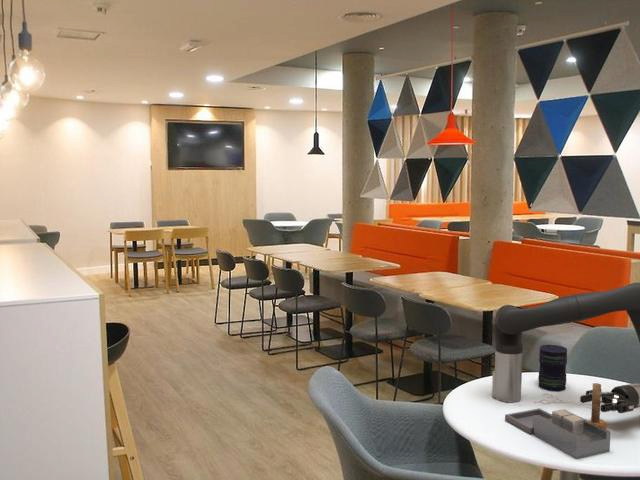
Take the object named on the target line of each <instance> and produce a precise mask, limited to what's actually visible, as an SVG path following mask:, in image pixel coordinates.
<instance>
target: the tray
mask: <svg viewBox="0 0 640 480" xmlns="http://www.w3.org/2000/svg"><path fill="white" fill-rule="evenodd" d="M534 415H538V416H540V417H542V418H544V419H550V418H552V413H549V412H548V411H545V410H543V409H542V408H533V409H528V410H524V411H518V412H512V413H508V414H505V415H504V421H505V422H507V423H508V424H510V425H512V426H513V427H515V428H517V429H519V430H520V431H521V430H522V431H523V432H525V433H526V434H527V435H532V426H533V416H534Z"/></svg>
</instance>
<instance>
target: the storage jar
mask: <svg viewBox="0 0 640 480" xmlns="http://www.w3.org/2000/svg"><path fill="white" fill-rule="evenodd" d="M538 355H539V356H538V357H539V359H538V361H539V370H538V377H537V378H538V388H540V389H541V390H544V391H546V392H547V391H548V392H558V393H559V392H564V391H566V389H567V387H566V385H567V373H566V371H567V369H566V368H567V364H568V349H567V347H565V346H563V345H562V346H561V345H557V344H543V345H540V346H539V354H538Z"/></svg>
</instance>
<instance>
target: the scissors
mask: <svg viewBox="0 0 640 480" xmlns="http://www.w3.org/2000/svg"><path fill="white" fill-rule="evenodd" d="M542 396H543V397H544V398H548V399H550V398H551V399H555V400H557V401H551V400H548V399H540V400H539V401H536V400H535V401H534V400H533V403H534V404H536V403H540V404H542V405H549V404H552V403H553V404H560V403H561V404H569V405H573V406H578V407H582V408H587V409H591V410H592V407H589V406H591V404H589V403H581V402H574V401H568V400H564V399H560V398H558V397H555V396H554V395H552V394H549V393H543V394H542Z"/></svg>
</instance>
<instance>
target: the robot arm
mask: <svg viewBox="0 0 640 480" xmlns="http://www.w3.org/2000/svg"><path fill="white" fill-rule="evenodd" d="M499 307H500V306H499ZM623 311H624V312H626V313H627V315H628V317H629V320H630V321H631V323H632V326H633V329H634V330H635V334H636V336H637V339H638V341H639V343H640V282H633V283H632V282H631V283H629V284H627V285H625V286H624V285H623V286H620V287H618V288H614V289H608V290H603V291H591V292H583V293H581V292H580V293H576V294H569V295H565V296H560V297H557V298H553V299H551V300H549V301H547V302H544V303H542V304H540V305H536V306H532V307H526V308H518V307H517V306H515V305H512V304H504V305H502V306H501V307H500V308H498V310H497V311H496V313H495V319H494V344H495V346H494V349H495V354H494V370H493V371H492V384H491V386H492V387H491V389H492V390H491V398H494V399H496V400H498V401H500V402H505V403H506V402H507V403H516V402H520V401H521V400H522V381H523V380H522V379H523V378H522V377H523V375H522V374H523V347H524V346H523V336H522V335H523V333H524V332H527V331H531V330H535V329H537V328H543V327H553V326H558V325H564V324H570V323H577V322H582V321H585V320H591V319H593V318H597V317H601V316H604V315H607V314H610V313H616V312H623ZM592 390H593V389H589V390H586V391H585V394H583V395H581V396H580V397H579V398H580V399H579V400H580V401H579V403H583V404H587V403H590V402H591V403H592ZM638 408H640V382H639V383H630V384H625V385H622V384H621V385H618V386H615V387H613V388H612V389H611V390H610V391H605V392H603V391H602V389H601V401H600V412H601V413H605V412H610V411H611V412H616V411H617V413H618V414H623V413H624V414H626V413H628V412H634V409H638Z"/></svg>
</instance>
